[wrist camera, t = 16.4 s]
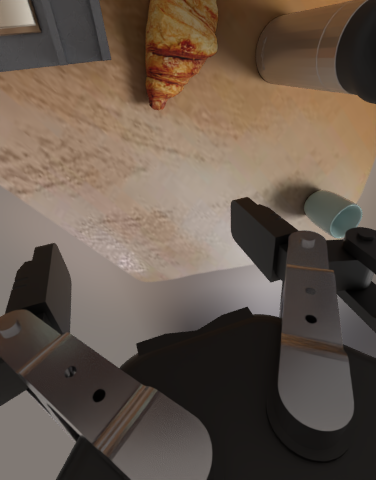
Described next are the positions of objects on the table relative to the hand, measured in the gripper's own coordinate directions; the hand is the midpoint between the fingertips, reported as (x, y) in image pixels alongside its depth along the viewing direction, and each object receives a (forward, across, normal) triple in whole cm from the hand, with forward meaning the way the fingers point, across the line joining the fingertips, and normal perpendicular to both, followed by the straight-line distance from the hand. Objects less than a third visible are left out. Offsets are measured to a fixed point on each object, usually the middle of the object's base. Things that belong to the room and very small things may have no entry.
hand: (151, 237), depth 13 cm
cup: (+36, -42, +25) cm, 61 cm away
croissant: (+36, -13, -9) cm, 40 cm away
